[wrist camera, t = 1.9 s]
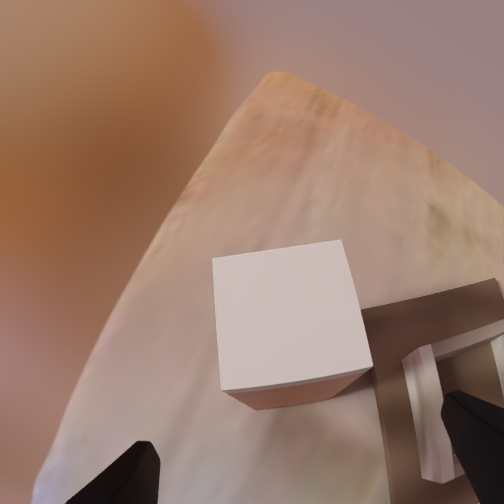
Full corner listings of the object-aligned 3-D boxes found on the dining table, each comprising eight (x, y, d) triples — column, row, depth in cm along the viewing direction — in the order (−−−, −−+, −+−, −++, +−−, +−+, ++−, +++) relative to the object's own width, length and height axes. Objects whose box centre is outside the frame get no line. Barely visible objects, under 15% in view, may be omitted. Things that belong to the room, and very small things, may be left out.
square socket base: (529, 465, 12) (562, 464, 8) (393, 533, 12) (414, 551, 9) (489, 283, 20) (513, 258, 17) (358, 314, 21) (371, 290, 17)
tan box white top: (329, 399, 18) (373, 365, 9) (255, 410, 18) (221, 390, 9) (317, 332, 20) (340, 239, 11) (248, 342, 21) (212, 258, 11)
